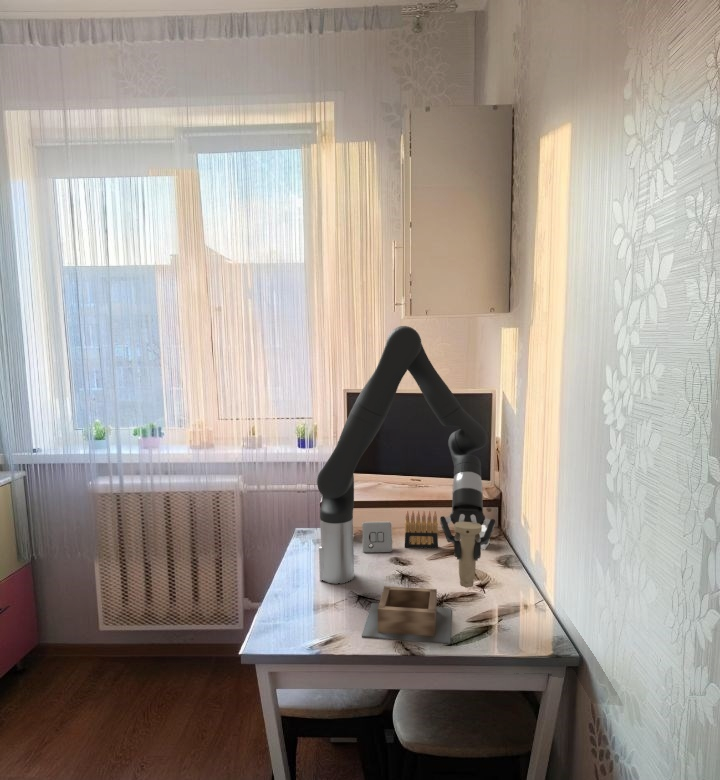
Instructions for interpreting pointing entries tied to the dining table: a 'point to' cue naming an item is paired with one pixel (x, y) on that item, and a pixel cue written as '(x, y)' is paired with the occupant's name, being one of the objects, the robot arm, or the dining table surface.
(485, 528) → the white cube
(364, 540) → the electrical switch
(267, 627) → the dining table surface
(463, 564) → the handle
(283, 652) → the dining table surface
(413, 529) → the ammunition clip
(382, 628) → the socket holder
